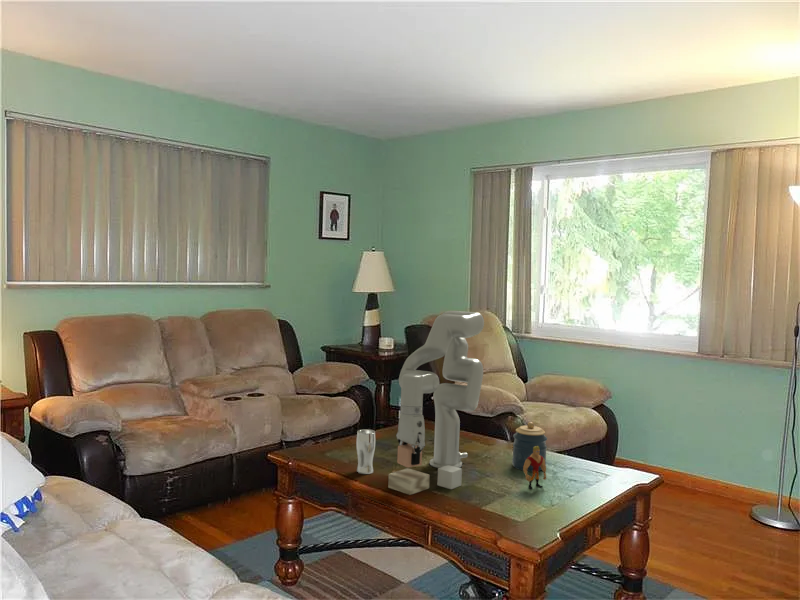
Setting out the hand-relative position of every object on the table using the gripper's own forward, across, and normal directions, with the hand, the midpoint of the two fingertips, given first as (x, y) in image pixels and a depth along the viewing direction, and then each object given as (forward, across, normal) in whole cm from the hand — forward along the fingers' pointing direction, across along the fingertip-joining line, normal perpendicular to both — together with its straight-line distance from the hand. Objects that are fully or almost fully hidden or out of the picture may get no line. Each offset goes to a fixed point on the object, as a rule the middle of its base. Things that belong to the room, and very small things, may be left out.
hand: (409, 461), depth 220 cm
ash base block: (+10, 0, 0) cm, 10 cm away
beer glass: (+9, +22, +4) cm, 24 cm away
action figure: (+9, -22, -39) cm, 46 cm away
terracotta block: (+1, 0, 0) cm, 1 cm away
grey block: (+9, -5, -14) cm, 18 cm away
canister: (+9, -4, -55) cm, 56 cm away
